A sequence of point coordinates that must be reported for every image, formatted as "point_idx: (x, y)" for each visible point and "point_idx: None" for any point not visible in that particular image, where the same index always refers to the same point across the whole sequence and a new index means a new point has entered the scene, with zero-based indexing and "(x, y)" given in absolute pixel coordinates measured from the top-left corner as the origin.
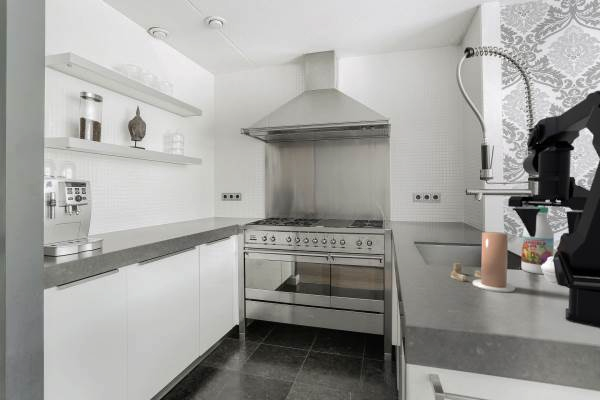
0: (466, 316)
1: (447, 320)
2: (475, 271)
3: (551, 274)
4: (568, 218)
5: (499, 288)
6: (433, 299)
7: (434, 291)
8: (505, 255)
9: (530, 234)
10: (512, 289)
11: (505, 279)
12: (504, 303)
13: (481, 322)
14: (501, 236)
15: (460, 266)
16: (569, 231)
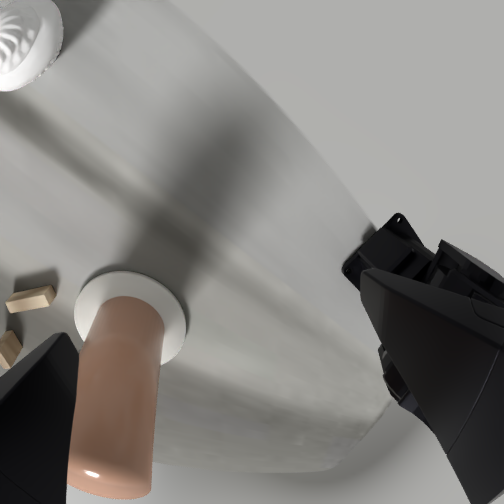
0: (323, 432)
1: (330, 448)
2: (12, 311)
3: (42, 72)
4: (461, 463)
5: (172, 334)
6: (245, 450)
7: (195, 441)
8: (146, 394)
9: (76, 374)
10: (176, 302)
11: (155, 328)
12: (274, 366)
13: (347, 422)
14: (150, 478)
15: (4, 347)
16: (408, 373)
